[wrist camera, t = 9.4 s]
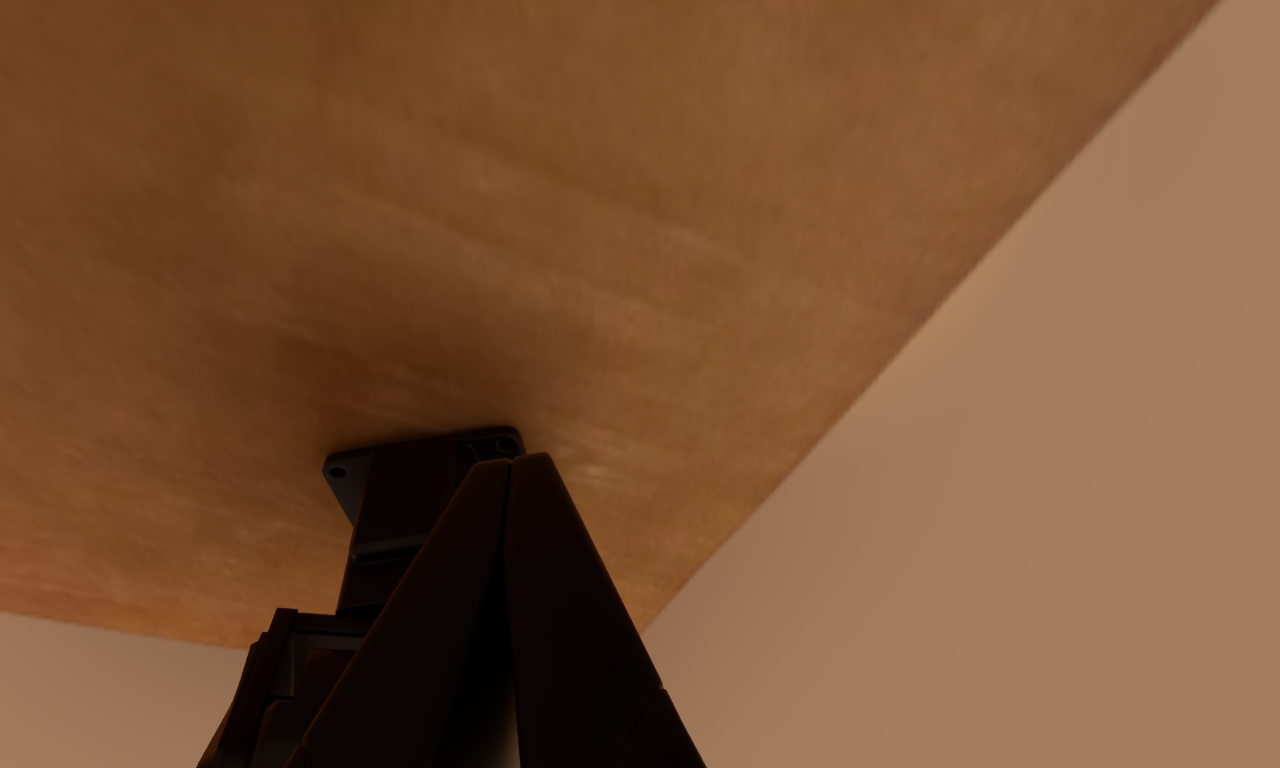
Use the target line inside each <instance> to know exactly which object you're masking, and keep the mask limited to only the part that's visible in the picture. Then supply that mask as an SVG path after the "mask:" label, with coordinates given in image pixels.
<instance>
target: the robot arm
mask: <svg viewBox="0 0 1280 768" xmlns="http://www.w3.org/2000/svg"><path fill="white" fill-rule="evenodd" d="M503 440H508V441H510V442H508V443H503V442H501V441H503ZM336 467H341V468H344V469H339V468H336ZM322 472H323V475H324V477H325V479H326V480H327V482H328V484H329V486H330V487H331V489H332V491H333V493H334V494H335V496H336V498H337V500H338V501H339V503H340V505H341V507H342V508H343V510H344V512H345V514H346V515H347V517H348V519H349V521H350V522H351V524H352V526H353V533H352V537H351V541H350V546H349V555H348V559H347V564H346V568H345V573H344V577H343V582H342V586H341V591H340V595H339V600H338V604H337V609H336V613H335V615H327V614H313V613H299V612H298V609H290V608H277V610H276V612H275V615H274V617H273V620H272V623H271V625H270V628H269V630H268V632H262V634H261V636H260V638H259V641H257V642H255V643H253V644H251V646H250V650H249V653H248V656H247V659H246V663H245V666H244V669H243V672H242V676H241V679H240V682H239V685H238V688H237V691H236V694H235V696H234V699H233V701H232V703H231V705H230V707H229V709H228V711H227V713H226V715H225V717H224V718H223V720H222V722H221V724H220V725H219V727H218V729H217V731H216V733H215V734H214V736H213V738H212V740H211V741H210V743H209V745H208V747H207V749H206V750H205V752H204V754H203V756H202V758H201V759H200V761H199V763H198V765H197V767H196V768H707V767H706V766H705V763H704V762H703V760H702V758H701V756H700V754H699V752H698V751H697V749H696V747H695V745H694V743H693V741H692V739H691V737H690V736H689V734H688V732H687V730H686V728H685V726H684V725H683V723H682V721H681V719H680V717H679V714H678V712H677V711H676V708H675V706H674V704H673V702H672V700H671V698H670V696H669V694H668V692H667V690H665V689H664V688H663V683H662V681H661V679H660V677H659V675H658V673H657V671H656V669H655V667H654V665H653V663H652V661H651V659H650V657H649V655H648V652H647V651H646V649H645V646H644V644H643V642H642V640H641V638H640V636H639V634H638V632H637V630H636V628H635V626H634V624H633V622H632V620H631V618H630V616H629V614H628V612H627V610H626V608H625V606H624V604H623V602H622V600H621V598H620V596H619V594H618V592H617V590H616V588H615V586H614V584H613V582H612V579H611V577H610V575H609V573H608V571H607V569H606V567H605V565H604V563H603V561H602V559H601V557H600V555H599V553H598V551H597V549H596V547H595V545H594V543H593V541H592V539H591V537H590V535H589V533H588V531H587V529H586V527H585V525H584V523H583V521H582V519H581V517H580V515H579V513H578V511H577V509H576V507H575V505H574V502H573V500H572V498H571V496H570V494H569V492H568V490H567V488H566V486H565V484H564V482H563V480H562V478H561V476H560V474H559V472H558V470H557V468H556V466H555V464H554V462H553V460H552V458H551V456H550V455H549V454H548V453H546V452H541V453H534V454H528V455H527V452H526V449H525V446H524V443H523V440H522V437H521V434H520V433H519V431H518V430H516V429H515V428H513V427H509V426H502V427H495V428H489V429H483V430H476V431H470V432H464V433H458V434H451V435H445V436H439V437H432V438H426V439H420V440H413V441H407V442H401V443H395V444H388V445H382V446H376V447H369V448H363V449H357V450H350V451H344V452H338V453H333V454H330V455H329V456H327V457H326V459H325V462H324V466H323V469H322Z"/></svg>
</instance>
